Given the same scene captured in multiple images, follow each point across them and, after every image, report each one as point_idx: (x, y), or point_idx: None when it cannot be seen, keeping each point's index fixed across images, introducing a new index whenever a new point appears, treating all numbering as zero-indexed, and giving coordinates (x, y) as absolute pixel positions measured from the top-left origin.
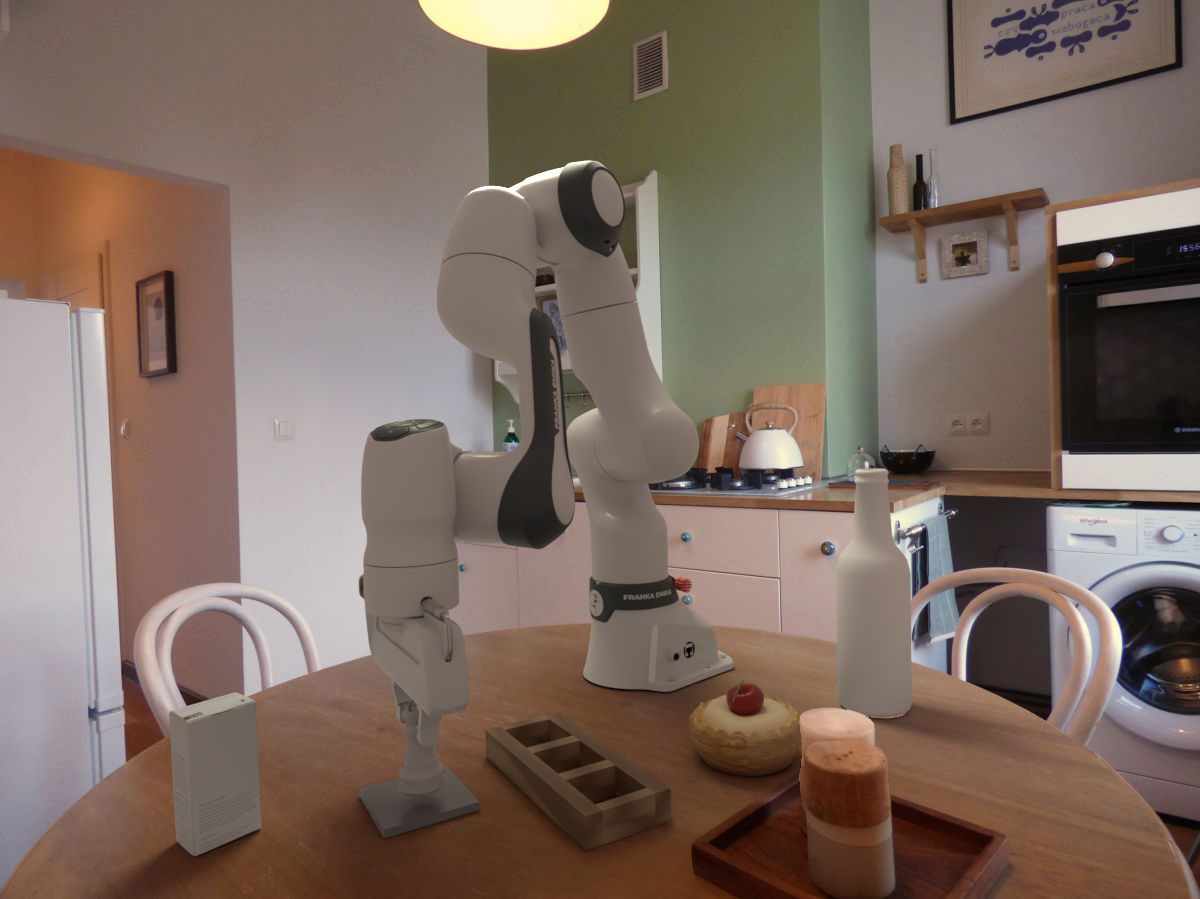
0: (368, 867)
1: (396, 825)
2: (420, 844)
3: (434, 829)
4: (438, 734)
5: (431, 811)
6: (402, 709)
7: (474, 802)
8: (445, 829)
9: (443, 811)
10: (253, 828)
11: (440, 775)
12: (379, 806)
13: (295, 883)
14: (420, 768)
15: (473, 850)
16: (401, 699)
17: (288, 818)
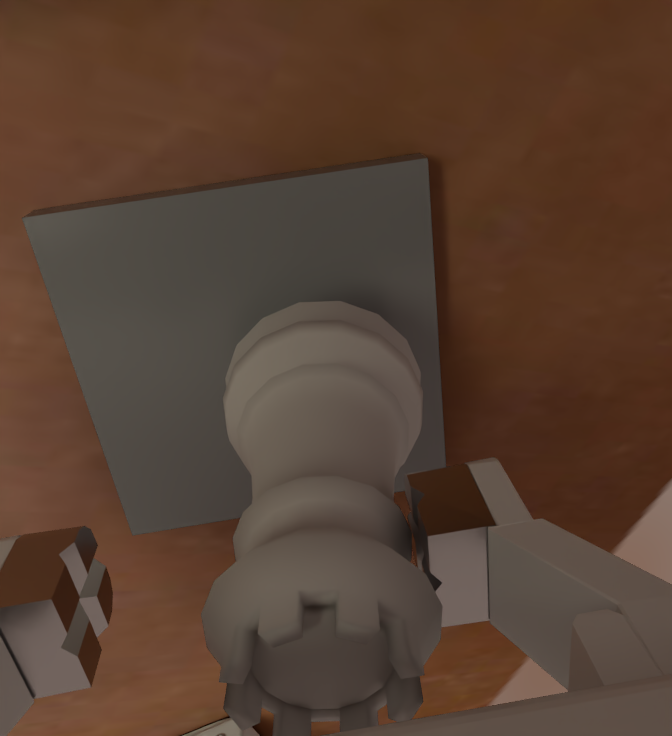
0: (556, 507)
1: (443, 451)
2: (526, 380)
3: (464, 330)
4: (506, 481)
5: (408, 342)
6: (93, 659)
7: (422, 178)
8: (483, 297)
9: (432, 304)
10: (253, 733)
11: (398, 350)
12: None
13: None
14: (405, 453)
15: (657, 238)
16: (6, 703)
17: (201, 666)
